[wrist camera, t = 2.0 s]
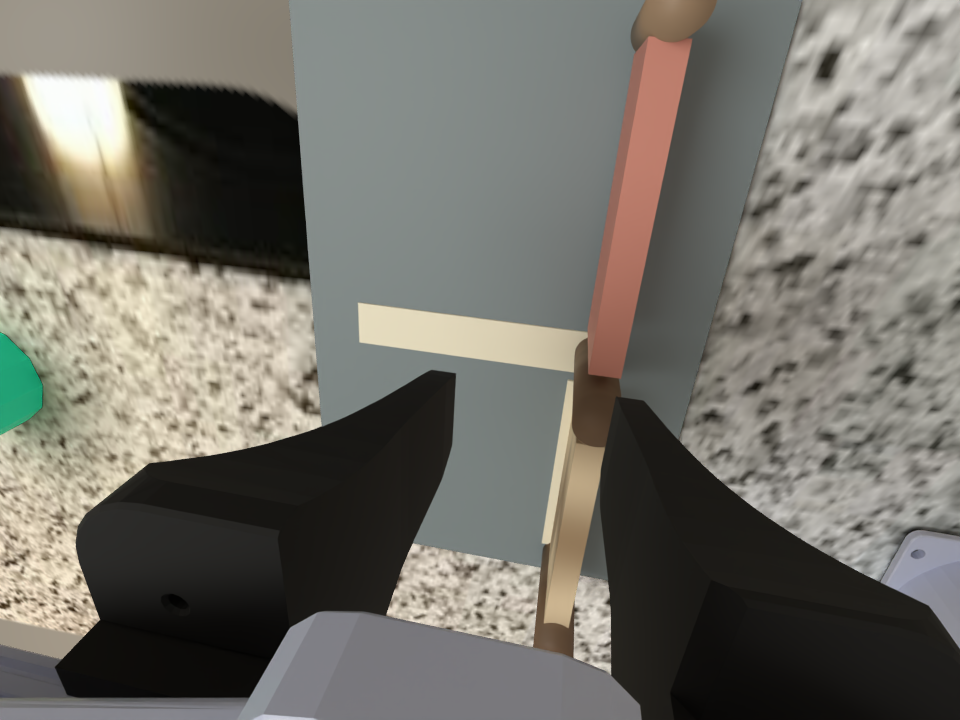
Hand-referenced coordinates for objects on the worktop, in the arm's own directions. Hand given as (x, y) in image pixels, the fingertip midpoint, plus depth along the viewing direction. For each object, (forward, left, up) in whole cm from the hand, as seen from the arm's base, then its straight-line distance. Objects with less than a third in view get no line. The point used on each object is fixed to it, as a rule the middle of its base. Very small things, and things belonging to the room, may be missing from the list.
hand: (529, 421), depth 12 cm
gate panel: (+4, -2, -9) cm, 10 cm away
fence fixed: (-7, -2, -9) cm, 12 cm away
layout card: (-2, +2, -9) cm, 10 cm away
